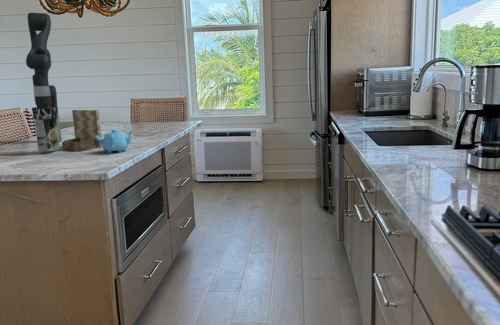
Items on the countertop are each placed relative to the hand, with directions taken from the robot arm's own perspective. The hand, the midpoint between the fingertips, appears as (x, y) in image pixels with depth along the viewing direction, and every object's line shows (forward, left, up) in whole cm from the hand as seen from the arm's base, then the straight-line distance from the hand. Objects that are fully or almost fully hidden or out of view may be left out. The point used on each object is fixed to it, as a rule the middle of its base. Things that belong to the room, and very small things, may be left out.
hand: (46, 127), depth 223 cm
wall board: (+9, +19, -13) cm, 25 cm away
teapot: (+34, +10, -13) cm, 38 cm away
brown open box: (+9, +12, -13) cm, 20 cm away
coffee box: (0, 0, -12) cm, 12 cm away
